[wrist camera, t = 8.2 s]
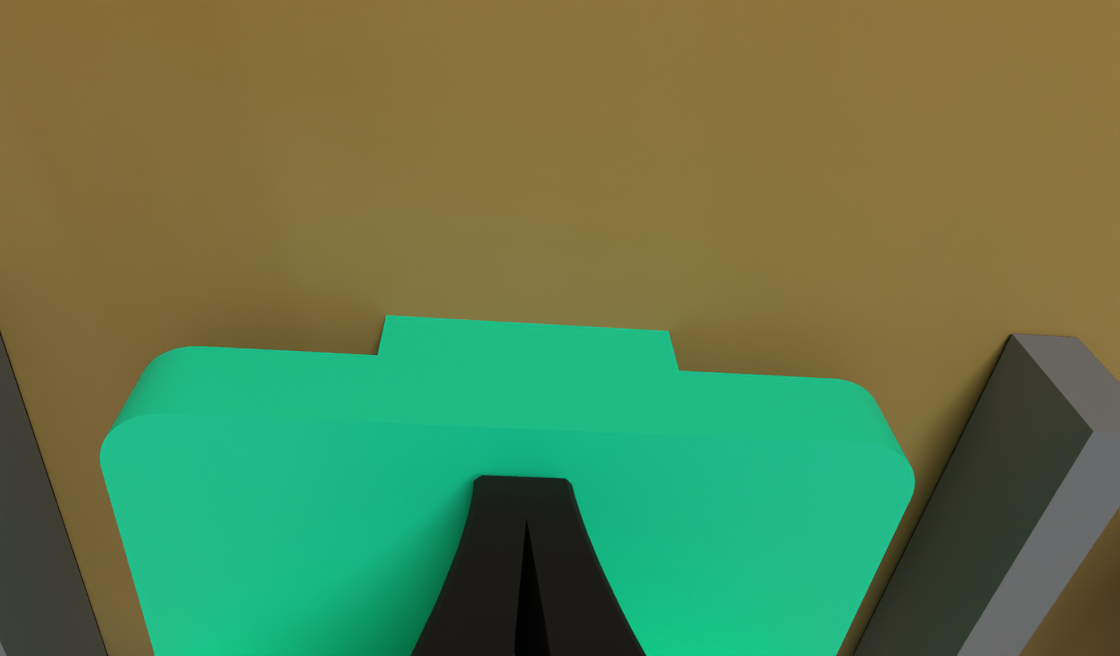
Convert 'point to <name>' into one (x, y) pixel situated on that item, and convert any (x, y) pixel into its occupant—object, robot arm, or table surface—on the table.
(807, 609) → the camera mount
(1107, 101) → the table surface
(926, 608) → the dock
